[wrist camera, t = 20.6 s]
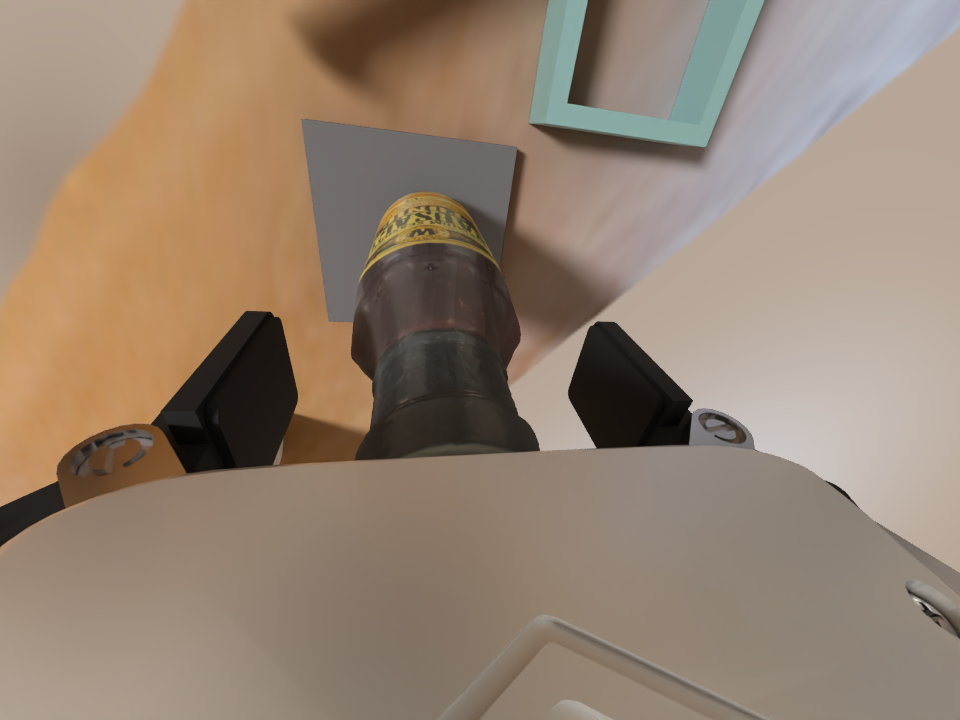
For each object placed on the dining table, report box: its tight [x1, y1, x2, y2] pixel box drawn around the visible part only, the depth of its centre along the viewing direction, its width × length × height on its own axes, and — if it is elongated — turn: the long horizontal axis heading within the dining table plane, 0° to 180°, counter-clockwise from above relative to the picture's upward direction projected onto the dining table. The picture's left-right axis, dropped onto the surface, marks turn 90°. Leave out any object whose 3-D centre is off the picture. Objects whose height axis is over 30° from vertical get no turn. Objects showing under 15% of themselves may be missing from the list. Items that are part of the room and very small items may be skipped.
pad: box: [301, 119, 517, 322], centre depth 23 cm, size 12×12×1 cm
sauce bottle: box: [351, 191, 540, 461], centre depth 15 cm, size 7×6×20 cm
